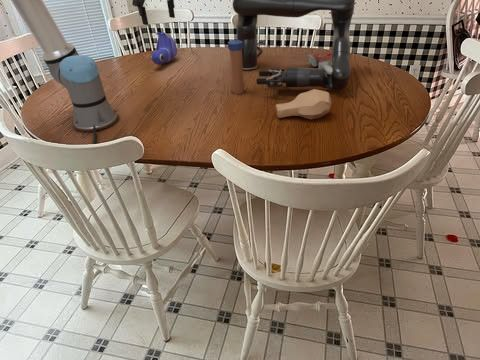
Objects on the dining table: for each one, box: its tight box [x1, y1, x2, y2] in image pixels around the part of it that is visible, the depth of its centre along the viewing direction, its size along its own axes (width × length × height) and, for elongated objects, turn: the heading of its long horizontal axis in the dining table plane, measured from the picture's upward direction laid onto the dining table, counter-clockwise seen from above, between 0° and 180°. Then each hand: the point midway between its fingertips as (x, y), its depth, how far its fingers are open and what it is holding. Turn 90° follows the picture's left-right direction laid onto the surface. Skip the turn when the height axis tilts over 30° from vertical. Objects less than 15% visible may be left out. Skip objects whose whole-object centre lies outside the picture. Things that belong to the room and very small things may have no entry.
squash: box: [274, 88, 332, 120], centre depth 126 cm, size 11×20×9 cm, turn 92°
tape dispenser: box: [308, 51, 333, 74], centre depth 165 cm, size 18×5×20 cm
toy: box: [150, 31, 178, 69], centre depth 181 cm, size 10×17×25 cm
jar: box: [229, 49, 245, 95], centre depth 144 cm, size 5×5×20 cm
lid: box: [227, 39, 243, 51], centre depth 139 cm, size 6×6×2 cm
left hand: (159, 20), depth 146 cm, fingers open, 13 cm apart
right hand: (258, 77), depth 145 cm, fingers open, 8 cm apart
